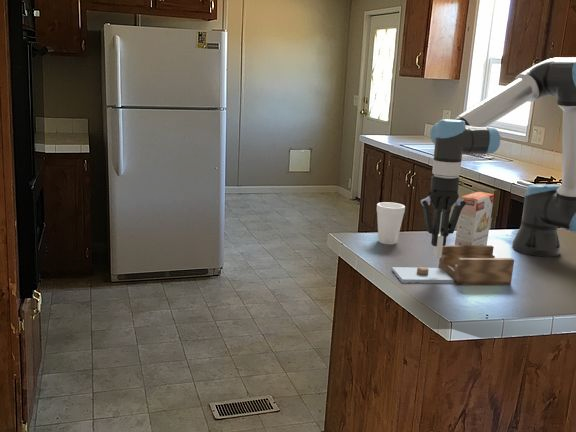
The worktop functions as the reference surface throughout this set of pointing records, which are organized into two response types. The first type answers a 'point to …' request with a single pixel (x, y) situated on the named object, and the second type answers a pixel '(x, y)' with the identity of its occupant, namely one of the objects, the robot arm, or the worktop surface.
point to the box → (475, 265)
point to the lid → (422, 275)
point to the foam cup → (389, 221)
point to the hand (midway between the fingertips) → (437, 256)
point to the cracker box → (474, 219)
